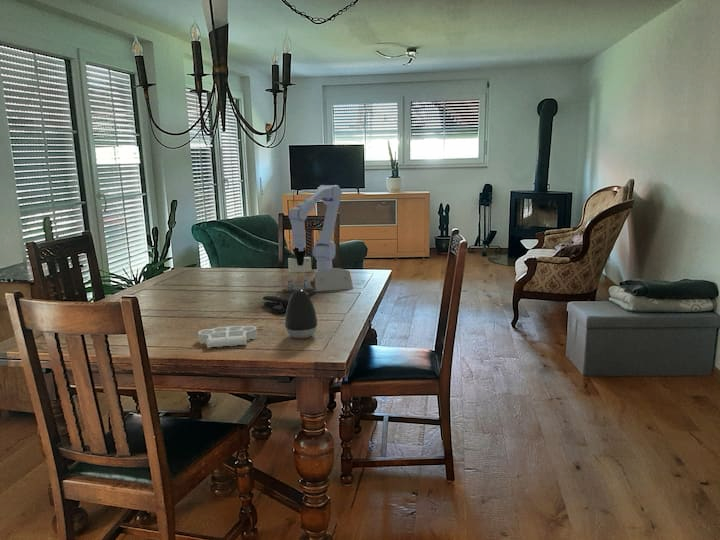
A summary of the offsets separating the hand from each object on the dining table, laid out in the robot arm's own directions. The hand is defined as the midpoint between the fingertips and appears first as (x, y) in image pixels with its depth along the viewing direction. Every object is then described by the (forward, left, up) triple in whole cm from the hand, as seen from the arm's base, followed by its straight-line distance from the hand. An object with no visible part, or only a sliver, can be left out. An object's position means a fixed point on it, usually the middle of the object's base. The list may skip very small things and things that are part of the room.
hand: (300, 264), depth 244 cm
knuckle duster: (+71, -32, -10) cm, 78 cm away
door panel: (0, 0, -3) cm, 3 cm away
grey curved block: (+10, +13, -10) cm, 19 cm away
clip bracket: (+9, -2, -9) cm, 13 cm away
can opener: (+37, -14, -10) cm, 41 cm away
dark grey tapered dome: (+74, -9, -10) cm, 75 cm away
